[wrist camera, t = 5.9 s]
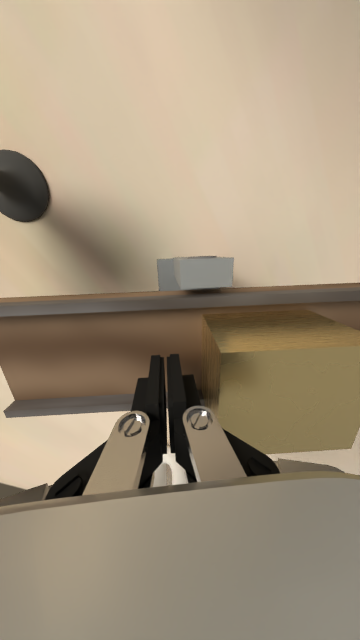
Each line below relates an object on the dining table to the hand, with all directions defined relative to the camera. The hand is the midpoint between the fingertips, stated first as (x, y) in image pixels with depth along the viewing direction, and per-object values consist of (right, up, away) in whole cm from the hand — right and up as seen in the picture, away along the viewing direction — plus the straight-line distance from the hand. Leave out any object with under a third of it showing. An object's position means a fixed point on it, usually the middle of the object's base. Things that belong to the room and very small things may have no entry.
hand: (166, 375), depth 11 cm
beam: (+2, +3, +6) cm, 7 cm away
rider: (+6, +1, +2) cm, 6 cm away
